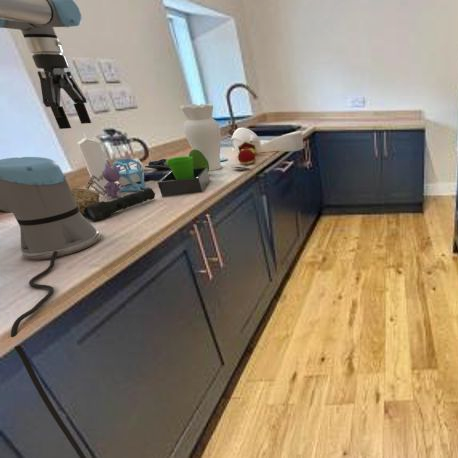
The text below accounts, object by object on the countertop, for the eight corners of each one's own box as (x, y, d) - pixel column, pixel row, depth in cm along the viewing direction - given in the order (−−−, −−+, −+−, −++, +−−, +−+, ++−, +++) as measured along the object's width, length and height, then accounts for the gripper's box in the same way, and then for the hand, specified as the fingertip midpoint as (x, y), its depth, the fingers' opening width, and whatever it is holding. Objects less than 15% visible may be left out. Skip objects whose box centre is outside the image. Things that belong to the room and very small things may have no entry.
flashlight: (86, 221, 110) (80, 206, 108) (148, 199, 128) (143, 186, 126) (97, 222, 109) (91, 207, 107) (158, 200, 126) (154, 187, 124)
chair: (134, 192, 136) (123, 161, 131) (118, 191, 138) (106, 161, 133) (151, 186, 143) (142, 157, 138) (135, 185, 145) (125, 156, 140)
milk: (99, 193, 137) (75, 136, 128) (95, 190, 141) (72, 134, 132) (117, 189, 141) (95, 133, 132) (114, 186, 145) (92, 132, 136)
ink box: (114, 177, 142) (115, 163, 149) (122, 186, 145) (122, 173, 153) (138, 170, 144) (137, 157, 152) (144, 180, 148) (144, 166, 155)
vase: (227, 170, 164) (211, 104, 152) (192, 174, 160) (173, 106, 148) (230, 163, 177) (216, 102, 165) (198, 166, 173) (181, 104, 161)
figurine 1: (98, 195, 127) (96, 163, 128) (113, 198, 134) (111, 168, 135) (114, 193, 127) (111, 161, 128) (128, 196, 134) (125, 166, 135)
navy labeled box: (181, 168, 159) (166, 174, 150) (183, 175, 161) (168, 181, 152) (143, 168, 161) (126, 174, 152) (145, 174, 162) (128, 180, 153)
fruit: (198, 174, 159) (191, 147, 154) (215, 174, 158) (208, 147, 153) (187, 179, 152) (179, 151, 147) (204, 179, 151) (196, 151, 146)
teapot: (251, 154, 204) (237, 166, 196) (231, 131, 196) (216, 143, 189) (274, 143, 188) (259, 156, 180) (254, 118, 180) (237, 130, 173)
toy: (232, 157, 186) (217, 161, 177) (232, 159, 186) (218, 163, 178) (212, 156, 190) (197, 160, 182) (212, 157, 191) (197, 162, 182)
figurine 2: (241, 160, 184) (239, 170, 171) (236, 141, 179) (233, 150, 166) (258, 157, 186) (257, 167, 174) (253, 139, 181) (252, 148, 168)
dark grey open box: (202, 192, 134) (198, 177, 132) (162, 196, 130) (157, 182, 128) (210, 180, 149) (206, 167, 147) (174, 184, 146) (170, 170, 143)
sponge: (68, 209, 124) (40, 216, 106) (66, 187, 123) (37, 190, 105) (114, 209, 130) (95, 216, 112) (113, 188, 128) (93, 191, 111)
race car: (156, 165, 151) (155, 155, 151) (142, 167, 152) (141, 156, 152) (182, 169, 166) (181, 160, 166) (169, 171, 167) (168, 161, 167)
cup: (189, 190, 135) (180, 161, 130) (168, 189, 136) (160, 161, 132) (205, 183, 143) (198, 156, 138) (186, 182, 144) (178, 156, 140)
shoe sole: (239, 153, 200) (235, 134, 196) (249, 148, 212) (246, 131, 207) (301, 151, 197) (298, 133, 193) (308, 147, 209) (305, 129, 205)
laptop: (230, 169, 163) (230, 165, 162) (240, 169, 168) (240, 165, 167) (240, 171, 159) (239, 167, 159) (250, 171, 164) (250, 166, 164)
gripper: (38, 51, 97) (70, 129, 106) (82, 55, 119) (106, 120, 128) (4, 52, 96) (40, 132, 104) (55, 56, 117) (81, 122, 126)
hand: (76, 125), depth 116 cm, fingers open, 13 cm apart
